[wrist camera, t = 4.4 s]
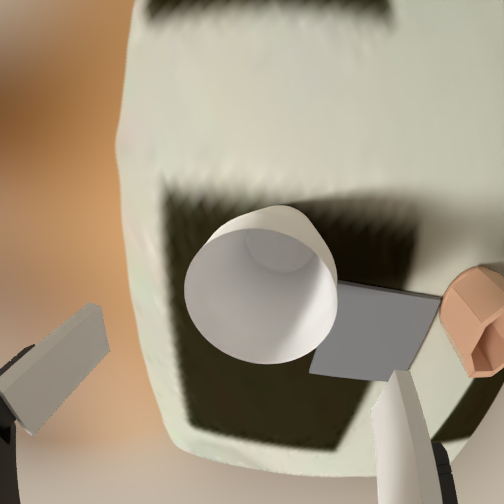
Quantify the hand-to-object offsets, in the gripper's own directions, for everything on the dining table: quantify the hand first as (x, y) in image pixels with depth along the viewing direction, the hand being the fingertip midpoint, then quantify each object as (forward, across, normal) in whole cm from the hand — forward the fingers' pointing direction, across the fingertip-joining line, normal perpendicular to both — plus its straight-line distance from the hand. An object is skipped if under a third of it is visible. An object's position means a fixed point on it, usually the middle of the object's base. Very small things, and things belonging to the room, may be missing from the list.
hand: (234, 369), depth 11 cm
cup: (+17, 0, 0) cm, 17 cm away
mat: (+17, +12, -8) cm, 22 cm away
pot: (+17, +23, -2) cm, 29 cm away
